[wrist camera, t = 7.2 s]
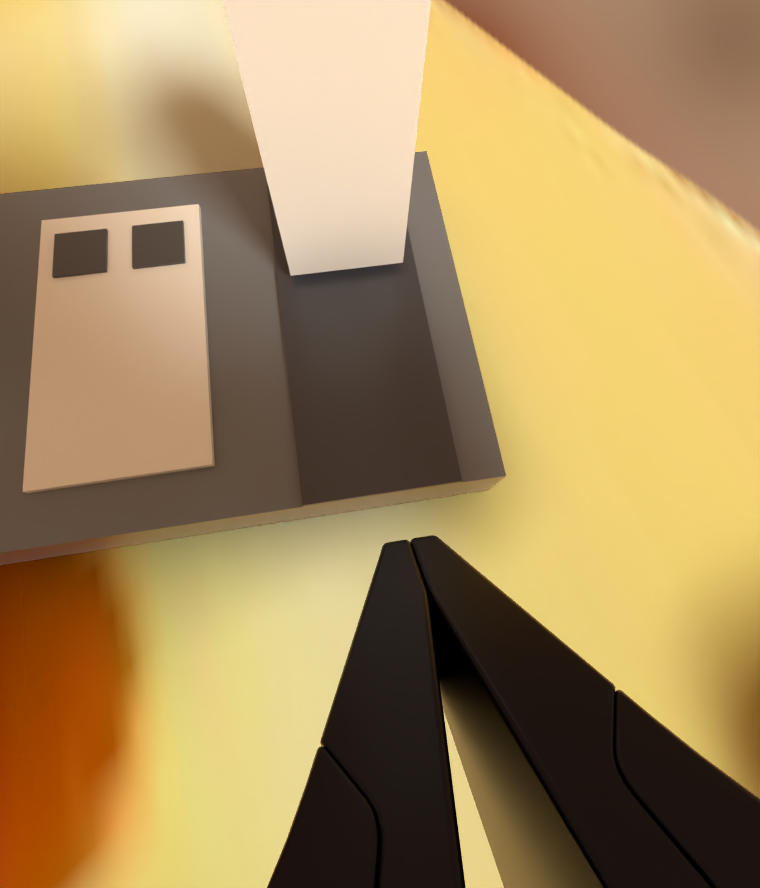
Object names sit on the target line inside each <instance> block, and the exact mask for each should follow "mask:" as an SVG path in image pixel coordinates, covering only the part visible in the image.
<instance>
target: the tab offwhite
mask: <svg viewBox="0 0 760 888" xmlns="http://www.w3.org/2000/svg"><path fill="white" fill-rule="evenodd" d="M222 3H223V7H224V11H225V15H226V19H227V23H228V27H229V31H230V35H231V39H232V43H233V47H234V51H235V55H236V59H237V63H238V67H239V71H240V75H241V79H242V83H243V87H244V91H245V95H246V99H247V103H248V107H249V111H250V115H251V119H252V123H253V127H254V131H255V135H256V139H257V143H258V147H259V151H260V155H261V159H262V163H263V167H264V171H265V175H266V179H267V183H268V187H269V191H270V195H271V199H272V203H273V207H274V211H275V215H276V219H277V223H278V227H279V231H280V235H281V239H282V243H283V247H284V251H285V255H286V259H287V263H288V267H289V271H290V275H291V276H293V275H302V274H310V273H319V272H327V271H336V270H344V269H353V268H362V267H370V266H379V265H387V264H396V263H403V258H404V248H405V239H406V230H407V220H408V211H409V202H410V192H411V183H412V174H413V164H414V155H415V146H416V136H417V127H418V118H419V108H420V99H421V90H422V80H423V71H424V62H425V52H426V43H427V34H428V24H429V15H430V6H431V0H222Z"/></svg>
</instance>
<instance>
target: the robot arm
mask: <svg viewBox="0 0 760 888" xmlns="http://www.w3.org/2000/svg"><path fill="white" fill-rule="evenodd" d="M443 709H444V712H445V715H446V718H447V721H448V724H449V727H450V730H451V733H452V736H453V739H454V742H455V745H456V747H457V750H458V753H459V756H460V759H461V762H462V765H463V768H464V771H465V774H466V777H467V780H468V783H469V786H470V789H471V791H472V794H473V797H474V800H475V803H476V806H477V809H478V812H479V815H480V818H481V821H482V824H483V827H484V830H485V833H486V835H487V838H488V841H489V844H490V847H491V850H492V853H493V856H494V859H495V862H496V865H497V868H498V871H499V874H500V877H501V879H502V882H503V885H504V888H760V799H759V798H758V797H757V796H755V795H754V794H752V793H751V792H750V791H748V790H747V789H746V788H744V787H743V786H742V785H740V784H739V783H738V782H736V781H735V780H734V779H732V778H731V777H730V776H728V775H727V774H726V773H724V772H723V771H721V770H720V769H719V768H717V767H716V766H715V765H713V764H712V763H711V762H709V761H708V760H707V759H705V758H704V757H703V756H701V755H700V754H699V753H697V752H696V751H695V750H694V749H692V748H691V747H690V746H689V745H687V744H686V743H685V742H684V741H682V740H681V739H680V738H679V737H677V736H676V735H675V734H674V733H672V732H671V731H670V730H669V729H667V728H666V727H665V726H664V725H662V724H661V723H660V722H659V721H657V720H656V719H655V718H654V717H652V716H651V715H650V714H649V713H648V712H646V711H645V710H644V709H643V708H642V707H640V706H639V705H638V704H637V703H636V702H634V701H633V700H632V699H631V698H630V697H628V696H627V695H626V694H625V693H624V692H622V691H621V690H617V691H616V692H615V686H614V684H613V683H611V682H610V681H609V680H608V679H607V678H605V677H604V676H603V675H602V674H601V673H599V672H598V671H597V670H596V669H595V668H593V667H592V666H591V665H590V664H589V663H587V662H586V661H585V660H584V659H583V658H581V657H580V656H579V655H578V654H577V653H575V652H574V651H573V650H572V649H571V648H569V647H568V646H567V645H566V644H565V643H564V642H562V641H561V640H560V639H559V638H558V637H556V636H555V635H554V634H553V633H552V632H550V631H549V630H548V629H547V628H546V627H544V626H543V625H542V624H541V623H540V622H538V621H537V620H536V619H535V618H534V617H532V616H531V615H530V614H529V613H528V612H526V611H525V610H524V609H523V608H522V607H521V606H519V605H518V604H517V603H516V602H515V601H513V600H512V599H511V598H510V597H509V596H507V595H506V594H505V593H504V592H503V591H501V590H500V589H499V588H498V587H497V586H495V585H494V584H493V583H492V582H491V581H489V580H488V579H487V578H486V577H485V576H483V575H482V574H481V573H480V572H479V571H477V570H476V569H475V568H474V567H473V566H472V565H470V564H469V563H468V562H467V561H466V560H464V559H463V558H462V557H461V556H460V555H458V554H457V553H456V552H455V551H454V550H452V549H451V548H450V547H449V546H448V545H446V544H445V543H444V542H443V541H442V540H440V539H439V538H438V537H436V536H426V537H419V538H414V539H412V540H411V542H409V541H407V540H401V541H394V542H388V543H385V544H384V545H383V547H382V550H381V553H380V556H379V560H378V563H377V566H376V569H375V572H374V575H373V578H372V581H371V585H370V588H369V591H368V594H367V597H366V600H365V603H364V606H363V610H362V613H361V616H360V619H359V622H358V625H357V628H356V631H355V635H354V638H353V641H352V644H351V647H350V650H349V653H348V656H347V660H346V663H345V666H344V669H343V672H342V675H341V678H340V681H339V685H338V688H337V691H336V694H335V697H334V700H333V703H332V706H331V710H330V713H329V716H328V719H327V722H326V725H325V728H324V731H323V735H322V738H321V746H322V747H319V748H318V749H317V752H316V755H315V758H314V762H313V765H312V768H311V771H310V774H309V777H308V780H307V783H306V786H305V789H304V792H303V795H302V798H301V800H300V803H299V806H298V809H297V812H296V815H295V817H294V820H293V823H292V826H291V829H290V832H289V834H288V837H287V840H286V842H285V845H284V847H283V850H282V852H281V855H280V857H279V860H278V862H277V865H276V867H275V869H274V872H273V874H272V877H271V879H270V882H269V884H268V887H267V888H465V880H464V872H463V864H462V856H461V848H460V840H459V833H458V825H457V817H456V809H455V801H454V793H453V785H452V777H451V769H450V761H449V753H448V745H447V737H446V729H445V721H444V713H443Z"/></svg>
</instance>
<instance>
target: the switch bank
mask: <svg viewBox="0 0 760 888" xmlns="http://www.w3.org/2000/svg"><path fill="white" fill-rule="evenodd" d="M505 476H506V474H505V470H504V466H503V462H502V458H501V454H500V449H499V445H498V441H497V437H496V433H495V429H494V425H493V421H492V417H491V413H490V409H489V405H488V400H487V396H486V392H485V388H484V384H483V380H482V376H481V372H480V368H479V364H478V360H477V356H476V351H475V347H474V343H473V339H472V335H471V331H470V327H469V323H468V319H467V315H466V311H465V307H464V303H463V298H462V294H461V290H460V286H459V282H458V278H457V274H456V270H455V266H454V262H453V258H452V254H451V249H450V245H449V241H448V237H447V233H446V229H445V225H444V221H443V217H442V213H441V209H440V205H439V200H438V196H437V192H436V188H435V184H434V180H433V176H432V172H431V168H430V164H429V160H428V156H427V151H424V152H415V155H414V164H413V174H412V183H411V192H410V202H409V211H408V220H407V230H406V239H405V248H404V258H403V263H396V264H387V265H379V266H370V267H362V268H353V269H344V270H336V271H327V272H319V273H310V274H302V275H293V276H291V275H290V271H289V267H288V263H287V259H286V255H285V251H284V247H283V243H282V239H281V235H280V231H279V227H278V223H277V219H276V215H275V211H274V207H273V203H272V199H271V195H270V191H269V187H268V183H267V179H266V175H265V171H264V168H255V169H245V170H235V171H225V172H215V173H205V174H195V175H185V176H175V177H165V178H155V179H145V180H135V181H125V182H115V183H105V184H95V185H85V186H75V187H65V188H55V189H45V190H35V191H25V192H15V193H5V194H0V565H5V564H12V563H18V562H25V561H31V560H38V559H44V558H51V557H57V556H64V555H70V554H77V553H83V552H90V551H96V550H103V549H109V548H116V547H122V546H128V545H135V544H141V543H148V542H154V541H161V540H167V539H174V538H180V537H187V536H193V535H200V534H206V533H213V532H219V531H226V530H232V529H239V528H245V527H252V526H258V525H265V524H271V523H278V522H284V521H291V520H297V519H304V518H310V517H317V516H323V515H330V514H336V513H343V512H349V511H356V510H362V509H368V508H375V507H381V506H388V505H394V504H401V503H407V502H414V501H420V500H427V499H433V498H440V497H446V496H453V495H459V494H466V493H472V492H479V491H485V490H489V489H490V488H491V487H493V486H494V485H495V484H496V483H498V482H499V481H500V480H501V479H503V478H504V477H505Z"/></svg>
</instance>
